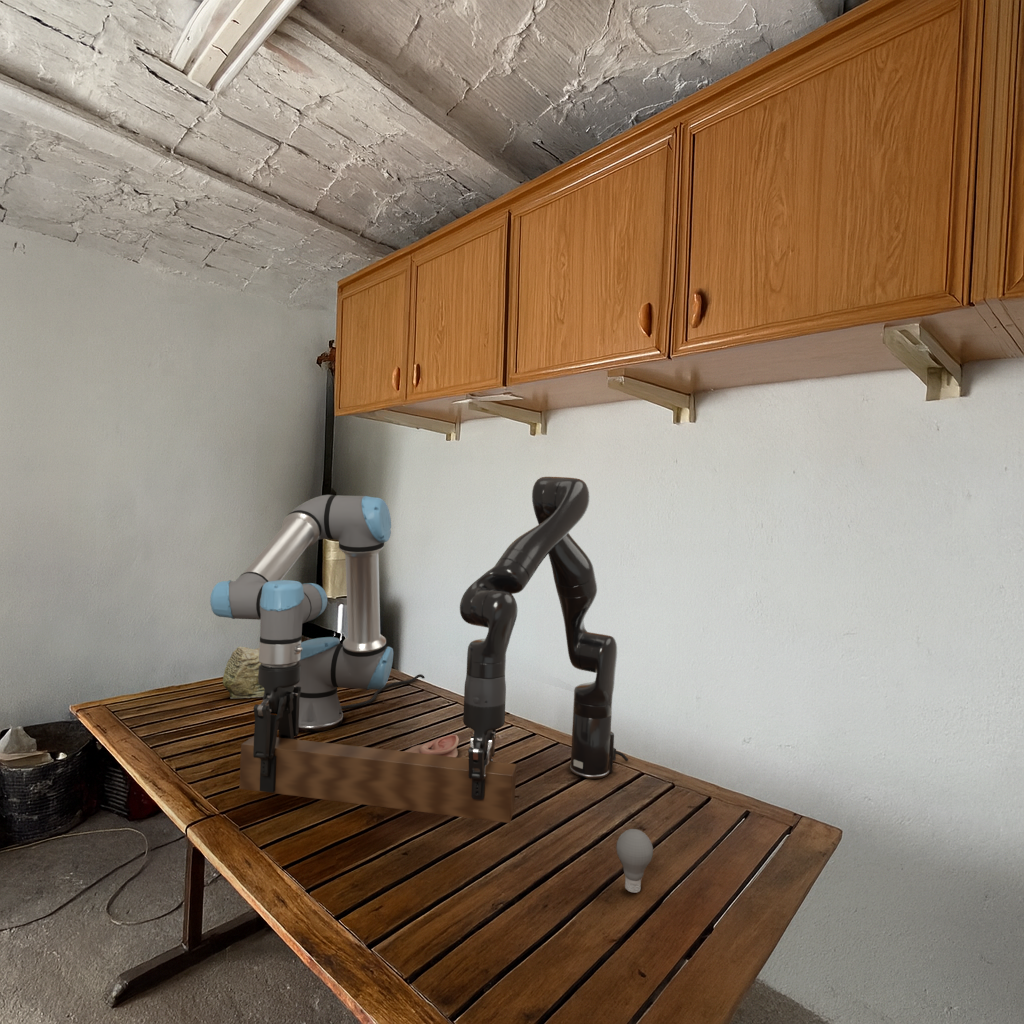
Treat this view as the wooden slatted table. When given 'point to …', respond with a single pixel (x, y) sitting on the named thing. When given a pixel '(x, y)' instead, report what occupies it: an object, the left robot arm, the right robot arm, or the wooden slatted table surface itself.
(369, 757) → the beam
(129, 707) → the wooden slatted table surface
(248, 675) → the fossil
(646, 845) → the light bulb
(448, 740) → the anatomical model
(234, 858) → the wooden slatted table surface
